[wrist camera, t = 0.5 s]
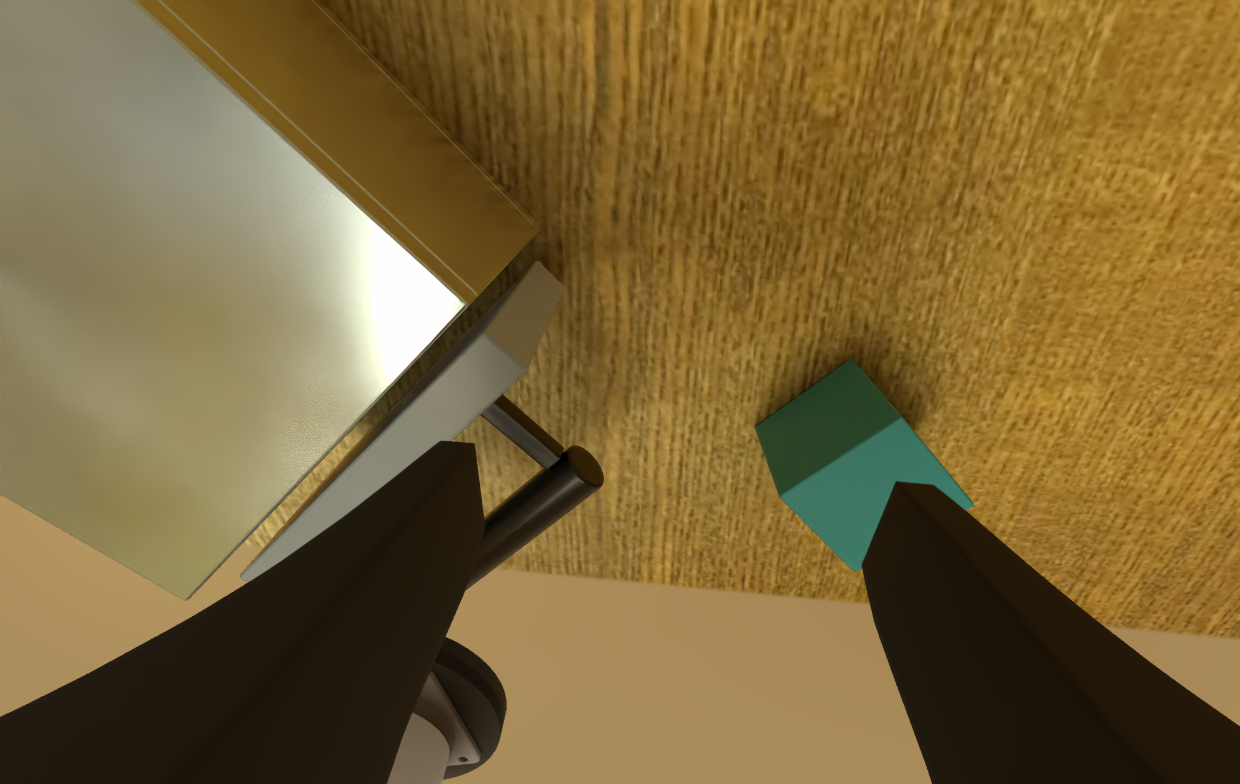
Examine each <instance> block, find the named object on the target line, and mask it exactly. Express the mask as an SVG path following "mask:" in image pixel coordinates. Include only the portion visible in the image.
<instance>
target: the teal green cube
mask: <svg viewBox="0 0 1240 784" xmlns="http://www.w3.org/2000/svg"><path fill="white" fill-rule="evenodd" d="M755 430H756V433H757V435H758V438H759V441H760V444H761V447H762V450H763V452H764V455H765V458H766V461H767V464H768V466H769V469H770V472H771V475H772V478H773V480H774V483H775V486H776V489H777V492H778V494H779V497H780V498H781V499H782V500H783V501H784V502H785V503H786V504H787V505H788V506H789V507H790V508H791V509H792V510H793V511H794V512H795V513H796V514H797V515H798V516H799V517H800V518H801V519H802V520H803V521H804V522H805V523H806V524H807V525H808V526H809V527H810V528H811V529H812V530H813V531H814V532H815V533H816V534H817V535H818V536H819V537H820V538H821V539H822V540H823V541H824V542H825V543H826V544H827V545H828V546H829V547H830V548H831V549H832V550H833V551H834V552H835V553H836V554H837V555H838V556H839V557H840V558H841V559H842V560H843V561H844V562H845V563H846V564H847V565H848V566H849V567H850V568H851V569H852V570H853V571H854V572H857V571H858V570H860V569H862V562H863V560H864V557H865V555H866V552H867V550H868V548H869V545H870V543H871V540H872V538H873V535H874V533H875V531H876V528H877V526H878V523H879V521H880V518H881V516H882V514H883V511H884V509H885V506H886V504H887V501H888V499H889V497H890V494H891V492H892V489H893V487H894V484H895V482H896V481H900V482H911V483H922V484H933V485H935V486H936V487H937V488H939V489H940V490H941V491H942V492H944V493H945V494H946V495H947V496H949V497H950V498H951V499H952V500H954V501H955V502H956V503H957V504H958V505H960V506H961V507H962V508H963V509H964V510H967V509H969V508H971V507H973V506H974V503H973V502H972V501H971V499H970V498H969V497H968V496H967V495H966V493H965V492H964V491H963V490H962V489H961V487H960V486H959V485H958V484H957V483H956V481H955V480H954V479H953V478H952V476H951V475H950V474H949V473H948V472H947V470H946V469H945V468H944V467H943V466H942V464H941V463H940V462H939V461H938V459H937V458H936V457H935V456H934V455H933V453H932V452H931V451H930V450H929V449H928V447H927V446H926V445H925V444H924V442H923V441H922V440H921V439H920V438H919V436H918V435H917V434H916V433H915V432H914V430H913V429H912V428H911V427H910V425H909V424H908V423H907V422H906V421H905V419H904V418H903V417H902V416H901V415H900V414H899V412H898V411H897V410H896V409H895V408H894V407H893V405H892V404H891V403H890V402H889V401H888V400H887V398H886V397H885V396H884V395H883V394H882V393H881V392H880V390H879V389H878V388H877V387H876V386H875V385H874V383H873V382H872V381H871V380H870V379H869V378H868V376H867V375H866V374H865V373H864V372H863V371H862V370H861V368H860V367H859V366H858V365H857V364H856V363H855V361H854V360H853V359H849V360H848V361H846V362H845V363H844V364H842V365H841V366H839V367H838V368H837V369H835V370H834V371H833V372H831V373H830V374H828V375H827V376H826V377H824V378H823V379H821V380H820V381H819V382H817V383H816V384H814V385H813V386H812V387H810V388H809V389H807V390H806V391H805V392H803V393H802V394H800V395H799V396H798V397H796V398H795V399H793V400H792V401H791V402H789V403H788V404H787V405H785V406H784V407H782V408H781V409H780V410H778V411H777V412H775V413H774V414H773V415H771V416H770V417H768V418H767V419H766V420H764V421H763V422H761V423H760V424H759V425H757V426H756V427H755Z"/></svg>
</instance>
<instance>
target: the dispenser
mask: <svg viewBox="0 0 1240 784" xmlns="http://www.w3.org/2000/svg"><path fill="white" fill-rule="evenodd" d="M541 228H542V227H541V225H540V224H539V223H538V222H537V221H536V220H535V219H534V218H533V217H532V216H531V215H530V214H529V213H528V212H527V211H526V210H525V209H524V208H523V207H522V206H521V205H520V204H519V203H518V202H517V201H516V200H515V199H514V198H513V197H512V196H511V195H510V194H509V193H508V192H507V190H506V189H505V188H504V187H503V186H502V185H501V184H500V183H499V182H498V181H497V180H496V179H495V178H494V177H493V176H492V175H491V174H490V173H489V172H488V171H487V170H486V169H485V168H484V167H483V166H482V165H481V164H480V163H479V162H478V161H477V160H476V159H475V158H474V157H473V156H472V155H471V154H470V153H469V152H468V151H467V150H466V149H465V147H464V146H463V145H462V144H461V143H460V142H459V141H458V140H457V139H456V138H455V137H454V136H453V135H452V134H451V133H450V132H449V131H448V130H447V129H446V128H445V127H444V126H443V125H442V124H441V123H440V122H439V121H438V120H437V119H436V118H435V117H434V116H433V115H432V114H431V113H430V112H429V111H428V110H427V109H426V108H425V107H424V106H423V105H422V103H421V102H420V101H419V100H418V99H417V98H416V97H415V96H414V95H413V94H412V93H411V92H410V91H409V90H408V89H407V88H406V87H405V86H404V85H403V84H402V83H401V82H400V81H399V80H398V79H397V78H396V77H395V76H394V75H393V74H392V73H391V72H390V71H389V70H388V69H387V68H386V67H385V66H384V65H383V64H382V63H381V62H380V61H379V59H378V58H377V57H376V56H375V55H374V54H373V53H372V52H371V51H370V50H369V49H368V48H367V47H366V46H365V45H364V44H363V43H362V42H361V41H360V40H359V39H358V38H357V37H356V36H355V35H354V34H353V33H352V32H351V31H350V30H349V29H348V28H347V27H346V26H345V25H344V24H343V23H342V22H341V21H340V20H339V19H338V18H337V16H336V15H335V14H334V13H333V12H332V11H331V10H330V9H329V8H328V7H327V6H326V5H325V4H324V3H323V2H322V1H321V0H0V494H1V495H2V496H4V497H6V498H8V499H9V500H11V501H13V502H14V503H16V504H18V505H20V506H21V507H23V508H25V509H27V510H28V511H30V512H32V513H33V514H35V515H37V516H39V517H40V518H42V519H44V520H45V521H47V522H49V523H51V524H52V525H54V526H56V527H58V528H60V529H61V530H63V531H65V532H67V533H68V534H70V535H71V536H73V537H75V538H77V539H78V540H80V541H82V542H84V543H85V544H87V545H89V546H91V547H92V548H94V549H96V550H97V551H99V552H101V553H103V554H105V555H106V556H108V557H110V558H112V559H113V560H115V561H117V562H118V563H120V564H122V565H123V566H125V567H127V568H129V569H131V570H132V571H134V572H136V573H137V574H139V575H141V576H143V577H144V578H146V579H148V580H150V581H151V582H153V583H155V584H156V585H158V586H160V587H162V588H163V589H165V590H167V591H169V592H170V593H172V594H174V595H175V596H177V597H179V598H181V599H182V600H188V599H190V598H191V597H192V595H193V594H194V593H195V592H196V591H197V590H198V589H199V588H200V587H201V586H202V585H203V584H204V583H205V582H206V581H207V580H208V579H209V578H210V577H211V576H212V575H213V574H214V572H215V571H216V570H217V569H218V568H219V567H220V566H221V565H222V564H223V563H224V562H225V561H226V560H227V559H228V558H229V557H230V556H231V555H232V554H233V553H234V551H235V550H237V548H238V547H239V546H240V545H241V544H242V543H243V542H244V541H245V540H246V539H247V538H248V537H249V536H250V535H251V534H252V533H253V532H254V531H255V530H256V529H257V528H258V527H259V526H260V524H261V523H262V522H263V521H264V520H265V519H266V518H267V517H268V516H269V515H270V514H271V513H272V512H273V511H274V510H275V509H276V508H277V507H278V506H279V505H280V504H281V503H282V502H283V500H284V499H285V498H286V497H287V496H288V495H289V494H290V493H291V492H292V491H293V490H294V489H295V488H296V487H297V486H298V485H299V484H300V483H301V482H302V481H303V480H304V479H305V477H306V476H307V475H308V474H309V473H310V472H311V471H312V470H313V469H314V468H315V467H316V466H317V465H318V464H319V463H320V462H321V461H322V460H323V459H324V458H325V457H326V456H327V455H328V453H329V452H330V451H331V450H332V449H333V448H334V447H335V446H336V445H337V444H338V443H339V442H340V441H341V440H342V439H343V438H344V437H345V436H346V435H347V434H348V433H349V432H350V430H351V429H352V428H353V427H354V426H355V425H356V424H357V423H358V422H359V421H360V420H361V419H362V418H363V417H364V416H365V415H366V414H367V413H368V412H369V411H370V410H371V409H372V408H373V406H374V405H375V404H376V403H377V402H378V401H379V400H380V399H381V398H382V397H383V396H384V395H385V394H386V393H387V392H388V391H389V390H390V389H391V388H392V387H393V386H394V385H395V384H396V382H397V381H398V380H399V379H400V378H401V377H402V376H403V375H404V374H405V373H406V372H407V371H408V370H409V369H410V368H411V367H412V366H413V365H414V364H415V363H416V362H417V361H418V359H419V358H420V357H421V356H422V355H423V354H424V353H425V352H426V351H427V350H428V349H429V348H430V347H431V346H432V345H433V344H434V343H435V342H436V341H437V340H438V339H439V338H440V337H441V335H442V334H443V333H444V332H445V331H446V330H447V329H448V328H449V327H450V326H451V325H452V324H453V323H454V322H455V321H456V320H457V319H458V318H459V317H460V316H461V315H462V314H463V313H464V311H465V310H466V309H467V308H468V307H469V306H470V305H471V304H472V303H473V302H474V301H475V300H476V299H477V298H478V297H479V295H480V294H481V293H482V292H483V291H484V290H485V289H486V288H487V287H488V286H489V285H490V284H491V283H492V282H493V280H494V279H495V278H496V277H497V276H498V275H499V274H500V273H501V272H502V271H503V270H504V269H505V268H506V266H507V265H508V264H509V263H510V262H511V261H512V260H513V259H514V258H515V257H516V256H517V255H518V254H519V252H520V251H521V250H522V249H523V248H524V247H525V246H526V245H527V244H528V243H529V242H530V241H531V240H532V239H533V237H534V236H535V235H536V234H537V233H538V232H539V231H540V230H541Z"/></svg>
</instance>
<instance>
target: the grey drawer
mask: <svg viewBox="0 0 1240 784" xmlns="http://www.w3.org/2000/svg"><path fill="white" fill-rule="evenodd" d="M564 290H565V287H564V286H563V285H562V284H561V283H560V282H559V281H558V280H557V279H556V278H555V277H554V276H553V275H552V274H551V273H550V272H549V271H548V270H547V269H546V268H545V267H544V266H543V265H542V264H541V263H540V262H539V261H535V262H534V263H533V264H532V265H531V266H530V267H529V268H528V269H527V270H526V271H525V272H524V273H523V274H522V275H521V276H520V277H519V278H518V279H517V280H516V281H515V282H514V283H513V284H512V285H511V286H510V287H509V288H508V289H507V290H506V292H505V293H504V294H503V295H502V296H501V297H500V298H499V299H498V300H497V301H496V302H495V303H494V304H493V305H492V306H491V307H490V308H489V309H488V310H487V311H486V312H485V313H484V314H483V315H482V316H481V317H480V318H479V319H478V320H477V321H476V322H475V323H474V324H473V325H472V326H471V327H470V328H469V329H468V330H467V331H466V332H465V333H464V334H463V335H462V336H461V338H460V339H459V340H458V341H457V342H456V343H455V344H454V345H453V346H452V347H451V348H450V349H449V350H448V351H447V352H446V353H445V354H444V355H443V356H442V357H441V358H440V359H439V360H438V361H437V362H436V363H435V364H434V365H433V366H432V367H431V368H430V369H429V370H428V371H427V372H426V373H425V374H424V375H423V376H422V377H421V378H420V379H419V380H418V381H417V382H416V383H415V385H414V386H413V387H412V388H411V389H410V390H409V391H408V392H407V393H406V394H405V395H404V396H403V397H402V398H401V399H400V400H399V401H398V402H397V403H396V404H395V405H394V406H393V407H392V408H391V409H390V410H389V411H388V412H387V413H386V414H385V415H384V416H383V417H382V418H381V419H380V420H379V421H378V422H377V423H376V424H375V425H374V426H373V427H372V428H371V429H370V431H369V432H368V433H367V434H366V435H365V436H364V437H363V438H362V439H361V440H360V441H359V442H358V443H357V444H356V445H355V446H354V447H353V448H352V449H351V450H350V451H349V452H348V453H347V455H346V456H345V457H344V458H343V459H342V460H341V461H340V462H339V464H338V465H337V466H336V467H335V468H334V469H333V470H332V471H331V473H330V474H329V475H328V476H327V477H326V478H325V479H324V481H323V482H322V483H321V484H320V485H319V486H318V487H317V488H316V490H315V491H314V492H313V493H312V494H311V495H310V496H309V497H308V499H307V500H306V501H305V502H304V503H303V504H302V505H301V506H300V508H299V509H298V510H297V511H296V512H295V513H294V514H293V515H292V517H291V518H290V519H289V520H288V521H287V522H286V523H285V525H284V526H283V527H282V528H281V529H280V530H279V531H278V532H277V534H276V535H275V536H274V537H273V538H272V539H271V540H270V541H269V543H268V544H267V545H266V546H265V547H264V548H263V549H262V550H261V552H260V553H259V554H258V555H257V556H256V557H255V559H254V560H253V561H252V562H251V563H250V564H249V565H248V566H247V567H246V569H245V570H244V571H243V572H242V573H241V575H240V578H241V579H243V580H245V581H246V582H250V581H251V580H253V579H254V578H256V577H257V576H259V575H260V574H262V573H264V572H265V571H267V570H268V569H270V568H271V567H273V566H274V565H276V564H277V563H279V562H280V561H282V560H283V559H284V558H286V557H287V556H289V555H290V554H292V553H293V552H294V551H296V550H297V549H299V548H300V547H301V546H303V545H304V544H306V543H307V542H308V541H310V540H311V539H313V538H314V537H315V536H317V535H318V534H320V533H321V532H323V531H324V530H325V529H327V528H328V527H330V526H331V525H332V524H334V523H335V522H337V521H338V520H339V519H341V518H342V517H344V516H345V515H346V514H347V513H349V512H350V511H351V510H353V509H354V508H355V507H357V506H358V505H359V504H360V503H362V502H363V501H364V500H366V499H367V498H368V497H369V496H371V495H372V494H373V493H375V492H376V491H377V490H379V489H380V488H381V487H382V486H384V485H385V484H386V483H387V482H389V481H390V480H391V479H392V478H394V477H395V476H396V475H397V474H399V473H400V472H401V471H403V470H404V469H405V468H406V467H408V466H409V465H410V464H411V463H413V462H414V461H415V460H416V459H417V458H419V457H420V456H421V455H423V454H424V453H425V452H426V451H428V450H429V449H430V448H431V447H433V446H434V445H435V444H437V443H438V442H439V441H441V440H442V441H453V440H454V439H455V438H456V437H457V436H458V435H459V434H460V433H461V432H462V431H463V430H464V429H465V428H467V427H468V426H469V425H470V424H471V423H472V422H473V421H474V420H475V419H476V418H477V417H478V416H480V415H481V416H483V417H484V418H485V419H486V420H487V421H489V422H490V423H491V424H492V425H493V426H494V427H496V428H497V429H498V430H499V431H500V432H502V433H503V434H504V435H505V436H506V437H508V438H509V439H510V440H511V441H512V442H514V443H515V444H516V445H517V446H518V447H520V448H521V449H522V450H523V451H524V452H525V453H527V454H528V455H529V456H530V457H531V458H533V459H534V460H535V461H536V462H537V463H539V464H540V465H541V466H542V467H543V469H542V470H541V471H539V472H538V473H537V474H536V475H535V476H533V477H532V478H531V479H530V480H528V481H527V482H526V483H525V484H524V485H522V486H521V487H520V488H519V489H518V490H516V491H515V492H514V493H513V494H511V495H510V496H509V497H508V498H507V499H505V500H504V501H503V502H502V503H500V504H499V505H498V506H497V507H496V508H494V509H493V510H492V511H491V512H489V513H488V514H487V515H486V516H485V517H484V522H485V530H484V534H483V537H482V541H481V544H480V548H479V551H478V555H477V558H476V561H475V564H474V568H473V571H472V574H471V577H470V581H469V583H468V585H467V588H466V590H467V589H468V588H470V587H471V586H472V585H474V584H475V583H476V582H477V581H479V580H480V579H481V578H483V577H484V576H485V575H487V574H488V573H489V572H491V571H492V570H493V569H495V568H496V567H497V566H498V565H500V564H501V563H502V562H504V561H505V560H506V559H508V558H509V557H510V556H512V555H513V554H514V553H516V552H517V551H518V550H519V549H521V548H522V547H523V546H525V545H526V544H527V543H529V542H530V541H531V540H533V539H534V538H535V537H537V536H538V535H539V534H540V533H542V532H543V531H544V530H546V529H547V528H548V527H550V526H551V525H552V524H554V523H555V522H556V521H558V520H559V519H560V518H561V517H563V516H564V515H565V514H567V513H568V512H569V511H571V510H572V509H573V508H575V507H576V506H577V505H579V504H580V503H581V502H582V501H584V500H585V499H586V498H588V497H589V496H590V495H592V494H593V493H594V492H596V491H597V490H598V489H600V488H601V487H602V485H603V483H604V475H603V472H602V469H601V467H600V465H599V464H598V462H597V461H596V459H595V458H594V457H593V456H592V455H591V454H590V453H589V452H588V451H587V450H585V449H584V448H582V447H580V446H570V447H569V448H567V449H566V450H565V451H564V452H563V450H564V448H563V446H562V445H560V444H559V443H558V442H557V441H556V440H555V439H554V438H552V437H551V436H550V435H549V434H548V433H547V432H545V431H544V430H543V429H542V428H541V427H540V426H539V425H537V424H536V423H535V422H534V421H533V420H532V419H530V418H529V417H528V416H527V415H526V414H525V413H524V412H522V411H521V410H520V409H519V408H518V407H517V406H516V405H514V404H513V403H512V402H511V401H510V400H509V399H507V398H506V397H505V396H504V395H503V393H504V392H505V391H507V390H508V389H509V388H510V387H511V386H512V385H513V384H514V383H515V382H516V381H517V380H518V379H520V378H521V377H522V376H523V375H524V374H525V373H526V371H527V369H528V367H529V365H530V363H531V361H532V358H533V356H534V354H535V352H536V350H537V348H538V345H539V343H540V341H541V339H542V337H543V335H544V333H545V330H546V328H547V326H548V324H549V322H550V320H551V318H552V315H553V313H554V311H555V309H556V307H557V305H558V303H559V300H560V298H561V296H562V294H563V292H564ZM466 590H465V591H466Z"/></svg>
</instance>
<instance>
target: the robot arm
mask: <svg viewBox="0 0 1240 784" xmlns="http://www.w3.org/2000/svg"><path fill="white" fill-rule="evenodd" d="M484 530H485V522H484V514H483V506H482V498H481V490H480V482H479V474H478V466H477V458H476V450H475V443H465V442H453V441H442V440H441V441H439V442H438V443H437V444H435V445H434V446H433V447H431V448H430V449H429V450H428V451H426V452H425V453H424V454H423V455H421V456H420V457H419V458H417V459H416V460H415V461H414V462H413V463H411V464H410V465H409V466H408V467H406V468H405V469H404V470H403V471H401V472H400V473H399V474H397V475H396V476H395V477H394V478H392V479H391V480H390V481H389V482H387V483H386V484H385V485H384V486H382V487H381V488H380V489H379V490H377V491H376V492H375V493H373V494H372V495H371V496H369V497H368V498H367V499H366V500H364V501H363V502H362V503H360V504H359V505H358V506H357V507H355V508H354V509H353V510H351V511H350V512H349V513H347V514H346V515H345V516H344V517H342V518H341V519H339V520H338V521H337V522H335V523H334V524H332V525H331V526H330V527H328V528H327V529H325V530H324V531H323V532H321V533H320V534H318V535H317V536H315V537H314V538H313V539H311V540H310V541H308V542H307V543H306V544H304V545H303V546H301V547H300V548H299V549H297V550H296V551H294V552H293V553H292V554H290V555H289V556H287V557H286V558H284V559H283V560H282V561H280V562H279V563H277V564H276V565H274V566H273V567H271V568H270V569H268V570H267V571H265V572H264V573H262V574H260V575H259V576H257V577H256V578H254V579H253V580H251V581H250V582H248V583H246V584H245V585H244V586H242V587H240V588H239V589H237V590H235V591H234V592H232V593H230V594H229V595H227V596H225V597H224V598H222V599H220V600H219V601H217V602H216V603H214V604H212V605H211V606H209V607H207V608H206V609H204V610H202V611H201V612H199V613H197V614H196V615H194V616H192V617H190V618H189V619H187V620H185V621H184V622H182V623H180V624H178V625H176V626H175V627H173V628H171V629H169V630H167V631H166V632H164V633H162V634H160V635H158V636H156V637H154V638H153V639H151V640H149V641H147V642H145V643H143V644H142V645H140V646H138V647H136V648H134V649H132V650H131V651H129V652H127V653H125V654H123V655H121V656H120V657H118V658H116V659H114V660H112V661H110V662H109V663H107V664H105V665H103V666H101V667H99V668H98V669H96V670H94V671H92V672H90V673H88V674H86V675H84V676H82V677H80V678H78V679H76V680H74V681H72V682H70V683H68V684H66V685H65V686H62V687H60V688H58V689H57V690H54V691H53V692H50V693H49V694H46V695H44V696H42V697H40V698H38V699H36V700H34V701H32V702H30V703H28V704H26V705H25V706H22V707H20V708H18V709H16V710H14V711H12V712H10V713H8V714H5V715H3V716H1V717H0V784H441V783H442V780H443V777H444V773H445V770H446V767H447V766H451V765H461V764H471V763H477V762H478V761H479V760H480V757H481V751H480V749H479V747H478V746H477V744H476V742H475V741H474V739H473V737H472V736H471V734H470V732H469V731H468V729H467V727H466V726H465V724H464V722H463V721H462V719H461V717H460V716H459V714H458V712H457V711H456V709H455V707H454V706H453V704H452V702H451V701H450V699H449V697H448V696H447V694H446V692H445V691H444V689H443V687H442V686H441V684H440V682H439V681H438V679H437V677H436V676H435V674H434V673H433V672H432V671H431V668H432V666H433V664H434V662H435V659H436V657H437V655H438V652H439V650H440V648H441V646H442V643H443V641H444V639H445V636H446V634H447V632H448V629H449V627H450V625H451V623H452V620H453V618H454V616H455V613H456V611H457V609H458V606H459V604H460V602H461V599H462V597H463V595H464V592H465V590H466V588H467V585H468V583H469V581H470V577H471V574H472V571H473V568H474V564H475V561H476V558H477V555H478V551H479V548H480V544H481V541H482V537H483V534H484ZM862 569H863V574H864V579H865V584H866V589H867V593H868V598H869V602H870V606H871V610H872V614H873V618H874V623H875V626H876V628H877V631H878V634H879V637H880V640H881V643H882V645H883V648H884V651H885V654H886V657H887V659H888V662H889V665H890V668H891V671H892V674H893V676H894V679H895V682H896V685H897V687H898V690H899V693H900V695H901V698H902V701H903V703H904V706H905V709H906V712H907V714H908V717H909V720H910V723H911V725H912V728H913V731H914V734H915V736H916V739H917V742H918V744H919V747H920V750H921V753H922V755H923V758H924V761H925V764H926V766H927V769H928V773H929V776H930V779H931V782H932V784H1240V726H1238V725H1237V724H1236V723H1234V722H1233V721H1231V720H1230V719H1228V718H1227V717H1226V716H1224V715H1223V714H1222V713H1220V712H1219V711H1217V710H1216V709H1214V708H1213V707H1212V706H1210V705H1209V704H1207V703H1206V702H1205V701H1203V700H1202V699H1200V698H1199V697H1197V696H1196V695H1195V694H1193V693H1192V692H1190V691H1189V690H1187V689H1186V688H1185V687H1183V686H1182V685H1180V684H1179V683H1178V682H1176V681H1175V680H1174V679H1172V678H1171V677H1170V676H1168V675H1167V674H1166V673H1164V672H1163V671H1161V670H1160V669H1159V668H1157V667H1156V666H1155V665H1153V664H1152V663H1151V662H1149V661H1148V660H1147V659H1145V658H1144V657H1143V656H1142V655H1140V654H1139V653H1138V652H1136V651H1135V650H1134V649H1133V648H1131V647H1130V646H1129V645H1127V644H1126V643H1125V642H1123V641H1122V640H1121V639H1120V638H1118V637H1117V636H1116V635H1114V634H1113V633H1112V632H1111V631H1109V630H1108V629H1107V628H1105V627H1104V626H1103V625H1102V624H1100V623H1099V622H1098V621H1096V620H1095V619H1094V618H1093V617H1091V616H1090V615H1089V614H1088V613H1087V612H1085V611H1084V610H1083V609H1082V608H1080V607H1079V606H1078V605H1077V604H1075V603H1074V602H1073V601H1072V600H1070V599H1069V598H1068V597H1067V596H1066V595H1064V594H1063V593H1062V592H1061V591H1060V590H1058V589H1057V588H1056V587H1055V586H1053V585H1052V584H1051V583H1050V582H1049V581H1048V580H1046V579H1045V578H1044V577H1043V576H1042V575H1040V574H1039V573H1038V572H1037V571H1036V570H1034V569H1033V568H1032V567H1031V566H1030V565H1029V564H1027V563H1026V562H1025V561H1024V560H1023V559H1021V558H1020V557H1019V556H1018V555H1017V554H1016V553H1014V552H1013V551H1012V550H1011V549H1010V548H1009V547H1007V546H1006V545H1005V544H1004V543H1003V542H1002V541H1000V540H999V539H998V538H997V537H996V536H995V535H994V534H992V533H991V532H990V531H989V530H988V529H987V528H985V527H984V526H983V525H982V524H981V523H980V522H978V521H977V520H976V519H975V518H974V517H973V516H971V515H970V514H969V513H968V512H967V511H966V510H964V509H963V508H962V507H961V506H960V505H958V504H957V503H956V502H955V501H954V500H952V499H951V498H950V497H949V496H947V495H946V494H945V493H944V492H942V491H941V490H940V489H939V488H937V487H936V486H935V485H933V484H922V483H911V482H900V481H896V482H895V484H894V487H893V489H892V492H891V494H890V497H889V499H888V501H887V504H886V506H885V509H884V511H883V514H882V516H881V518H880V521H879V523H878V526H877V528H876V531H875V533H874V535H873V538H872V540H871V543H870V545H869V548H868V550H867V552H866V555H865V557H864V560H863V562H862Z"/></svg>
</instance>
